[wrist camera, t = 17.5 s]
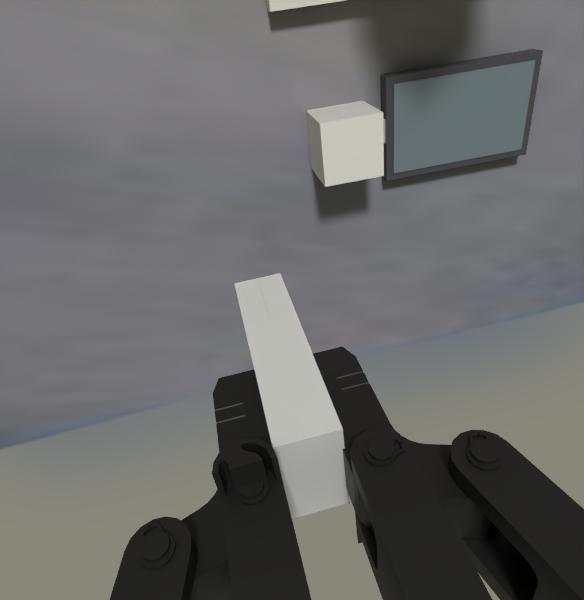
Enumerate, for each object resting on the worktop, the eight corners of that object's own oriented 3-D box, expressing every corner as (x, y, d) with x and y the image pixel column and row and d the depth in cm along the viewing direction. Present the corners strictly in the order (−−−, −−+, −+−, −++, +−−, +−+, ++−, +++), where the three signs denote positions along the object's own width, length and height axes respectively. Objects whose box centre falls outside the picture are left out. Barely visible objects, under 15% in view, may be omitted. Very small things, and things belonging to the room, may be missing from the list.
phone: (379, 177, 35) (385, 181, 34) (378, 75, 31) (384, 77, 30) (517, 150, 36) (526, 154, 35) (533, 49, 32) (543, 50, 31)
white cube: (311, 168, 33) (325, 186, 30) (305, 110, 31) (319, 123, 28) (372, 157, 34) (392, 174, 31) (371, 99, 32) (392, 110, 28)
